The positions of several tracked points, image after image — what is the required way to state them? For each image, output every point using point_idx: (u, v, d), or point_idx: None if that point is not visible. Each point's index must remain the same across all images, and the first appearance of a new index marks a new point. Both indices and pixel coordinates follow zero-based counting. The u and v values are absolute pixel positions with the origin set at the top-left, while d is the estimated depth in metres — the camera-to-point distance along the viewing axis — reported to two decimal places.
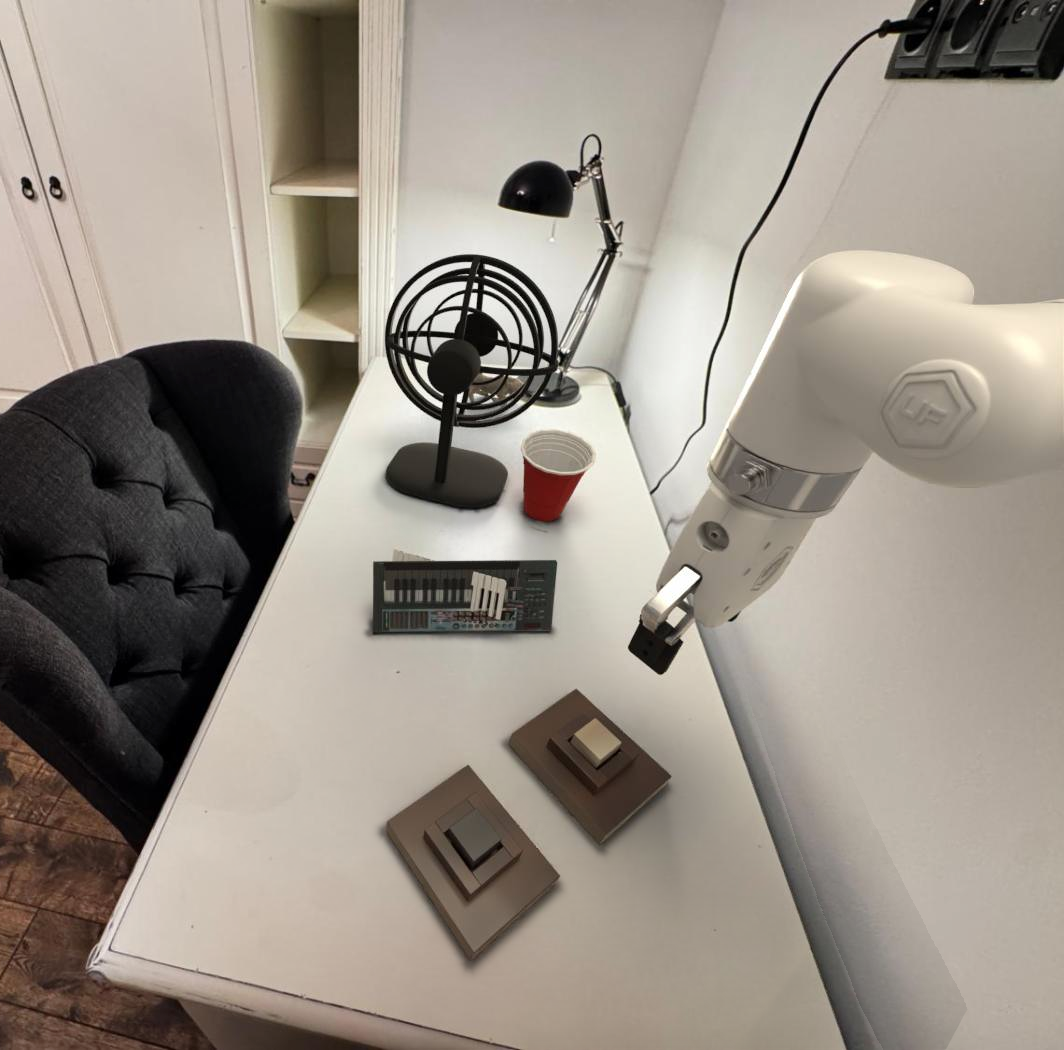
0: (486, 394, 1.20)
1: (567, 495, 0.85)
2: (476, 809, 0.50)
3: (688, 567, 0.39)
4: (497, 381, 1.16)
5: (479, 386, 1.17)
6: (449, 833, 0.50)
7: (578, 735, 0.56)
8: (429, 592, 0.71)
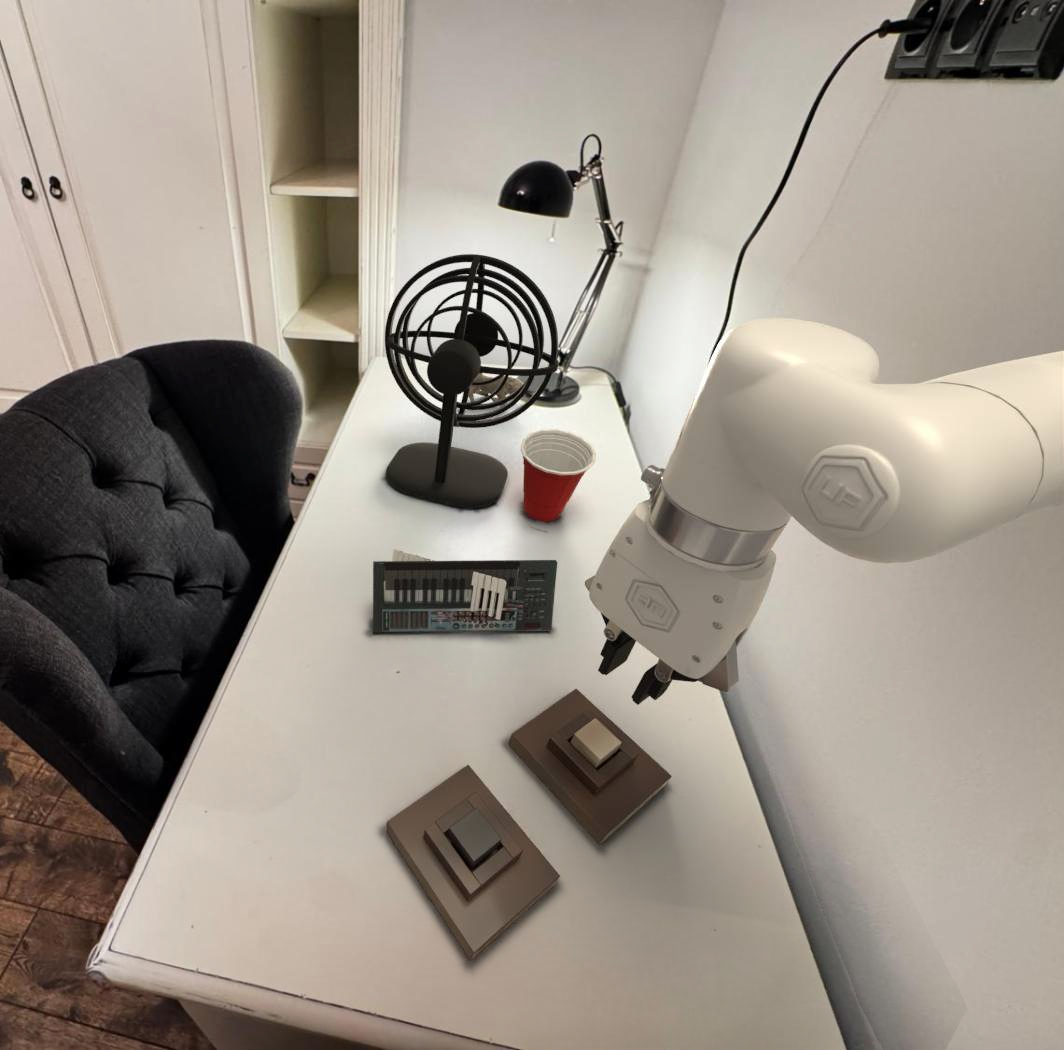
0: (486, 394, 1.20)
1: (567, 495, 0.85)
2: (476, 809, 0.50)
3: None
4: (497, 381, 1.16)
5: (479, 386, 1.17)
6: (449, 833, 0.50)
7: (578, 735, 0.56)
8: (429, 592, 0.71)
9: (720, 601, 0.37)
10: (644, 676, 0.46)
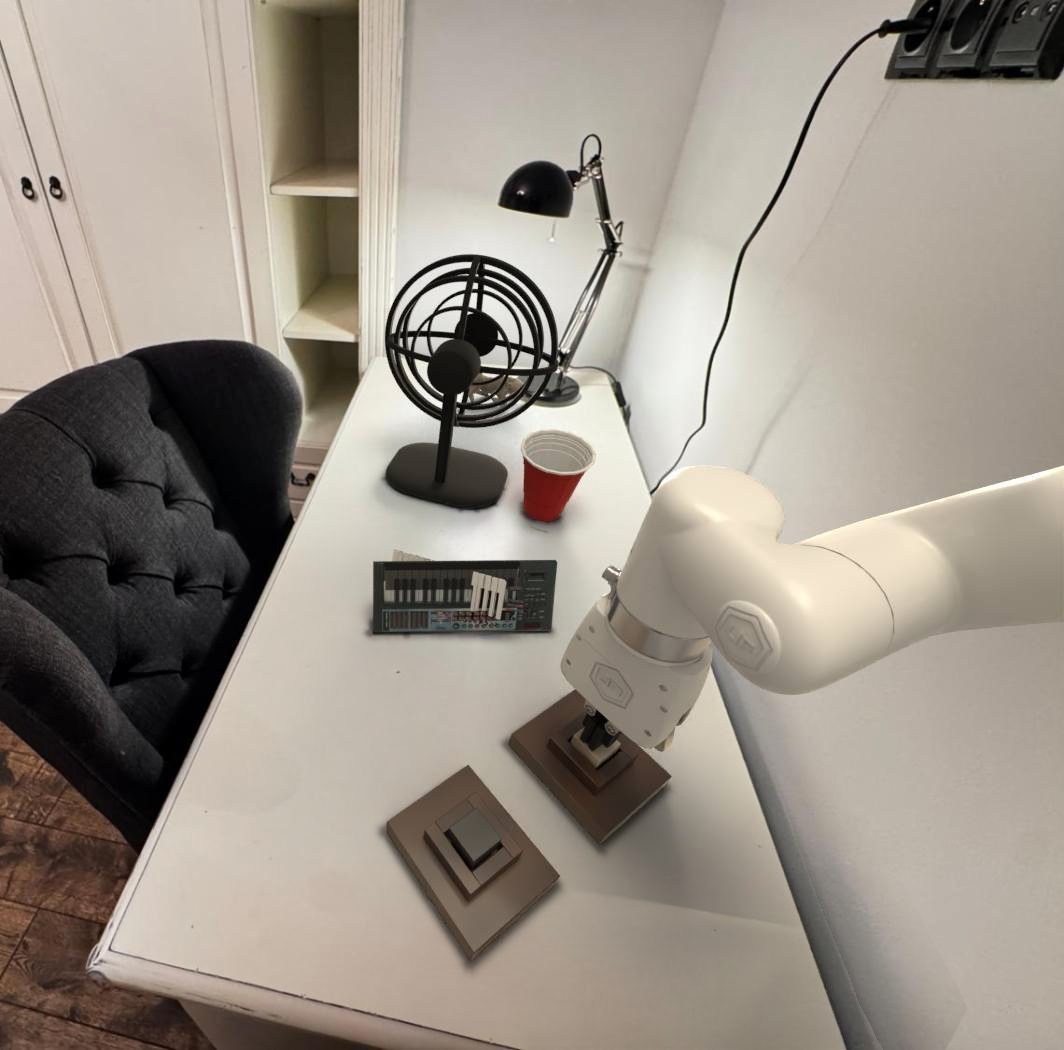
0: (486, 394, 1.20)
1: (567, 495, 0.85)
2: (476, 809, 0.50)
3: None
4: (497, 381, 1.16)
5: (479, 386, 1.17)
6: (449, 833, 0.50)
7: (577, 737, 0.56)
8: (429, 592, 0.71)
9: (665, 689, 0.43)
10: (597, 728, 0.53)
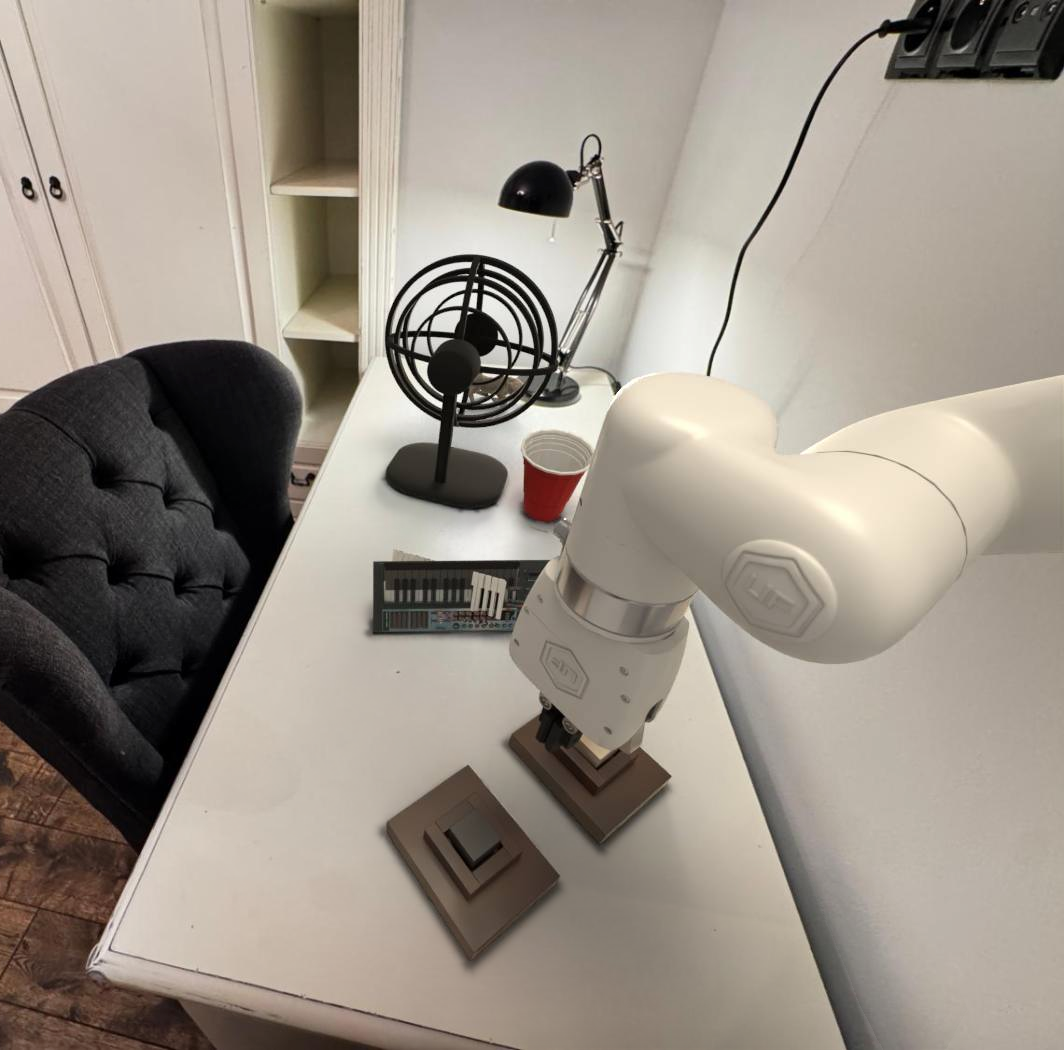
0: (486, 394, 1.20)
1: (567, 495, 0.85)
2: (476, 809, 0.50)
3: None
4: (497, 381, 1.16)
5: (479, 386, 1.17)
6: (449, 833, 0.50)
7: None
8: (429, 592, 0.71)
9: (627, 674, 0.34)
10: (553, 725, 0.43)
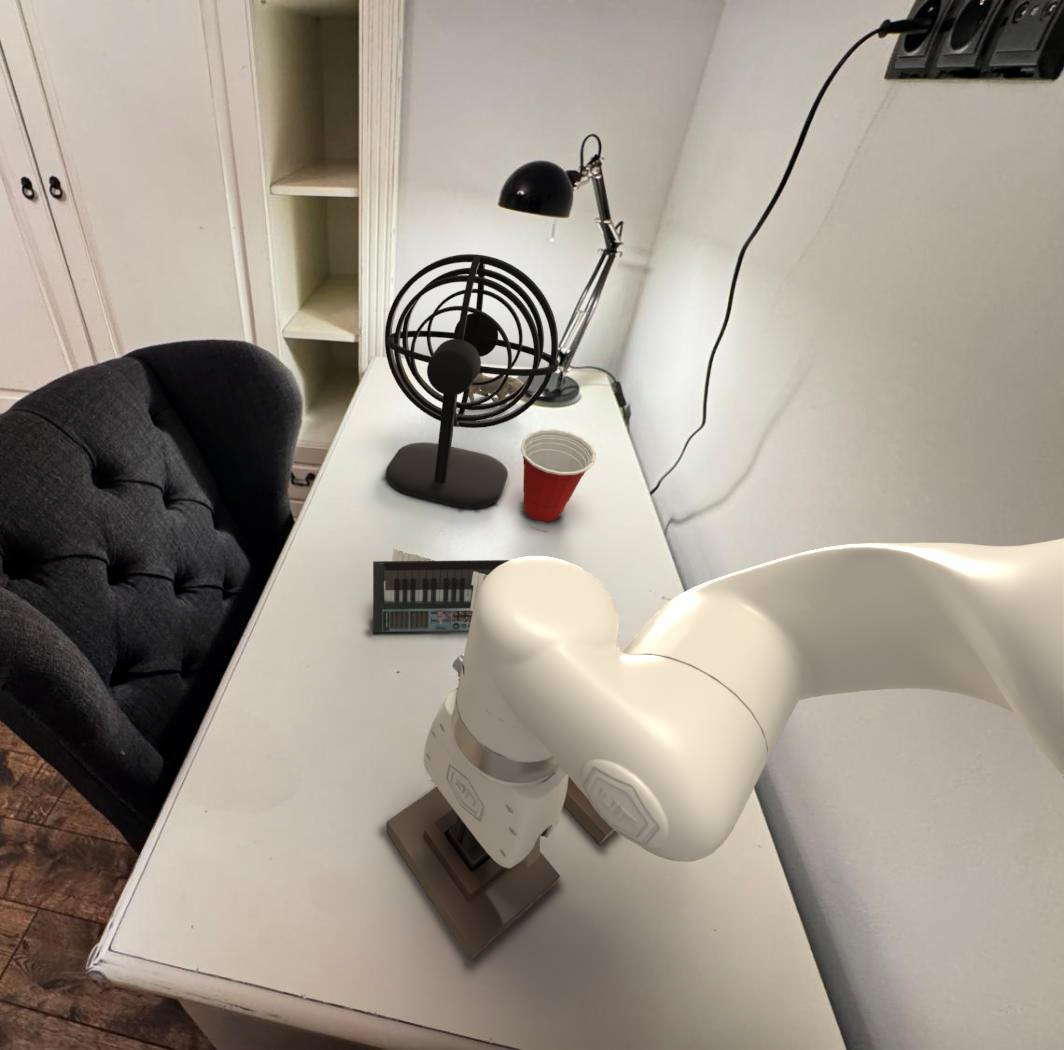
0: (486, 394, 1.20)
1: (567, 495, 0.85)
2: None
3: None
4: (497, 381, 1.16)
5: (479, 386, 1.17)
6: (448, 835, 0.50)
7: None
8: (429, 592, 0.71)
9: (512, 810, 0.36)
10: (466, 829, 0.46)
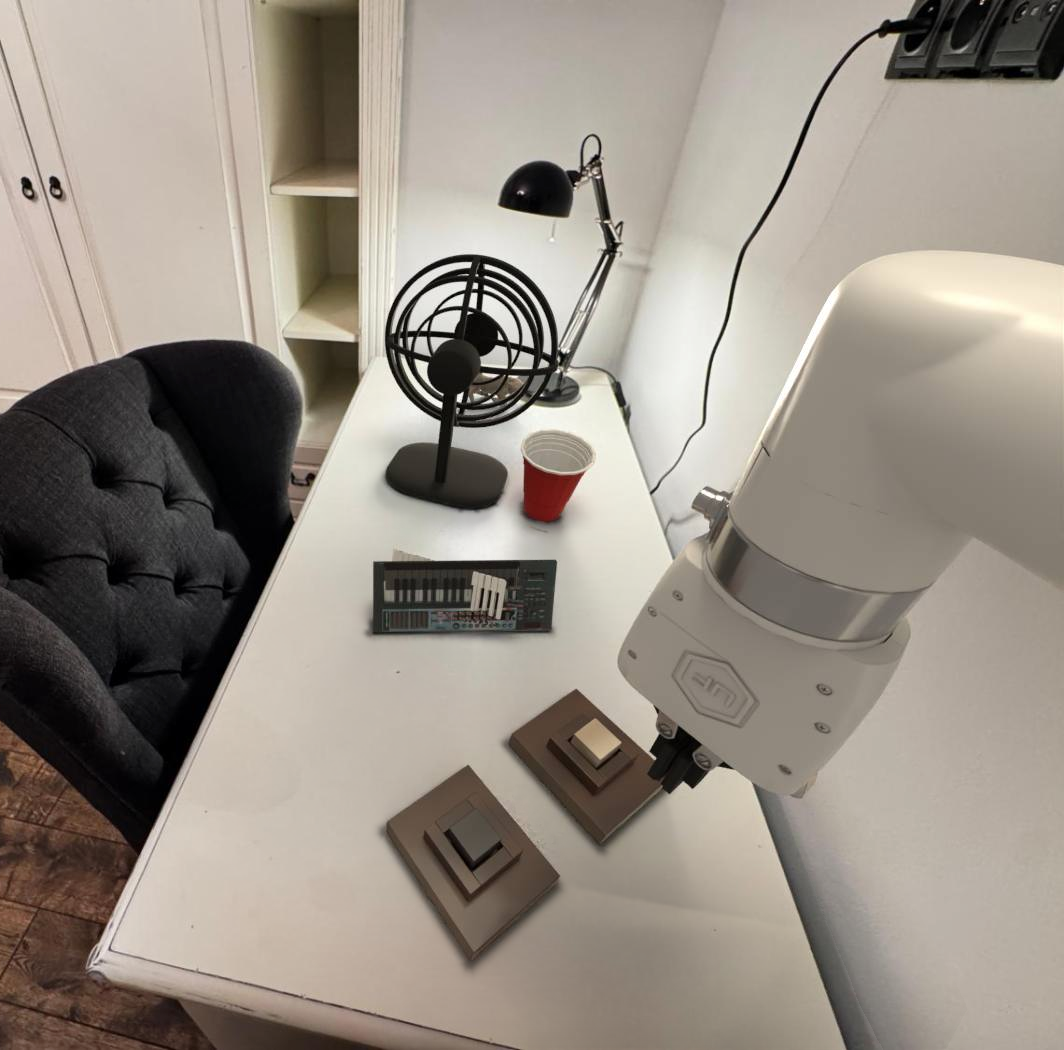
0: (486, 394, 1.20)
1: (567, 495, 0.85)
2: (476, 809, 0.50)
3: None
4: (497, 381, 1.16)
5: (479, 386, 1.17)
6: (449, 833, 0.50)
7: (578, 735, 0.56)
8: (429, 592, 0.71)
9: (827, 693, 0.24)
10: (678, 759, 0.34)
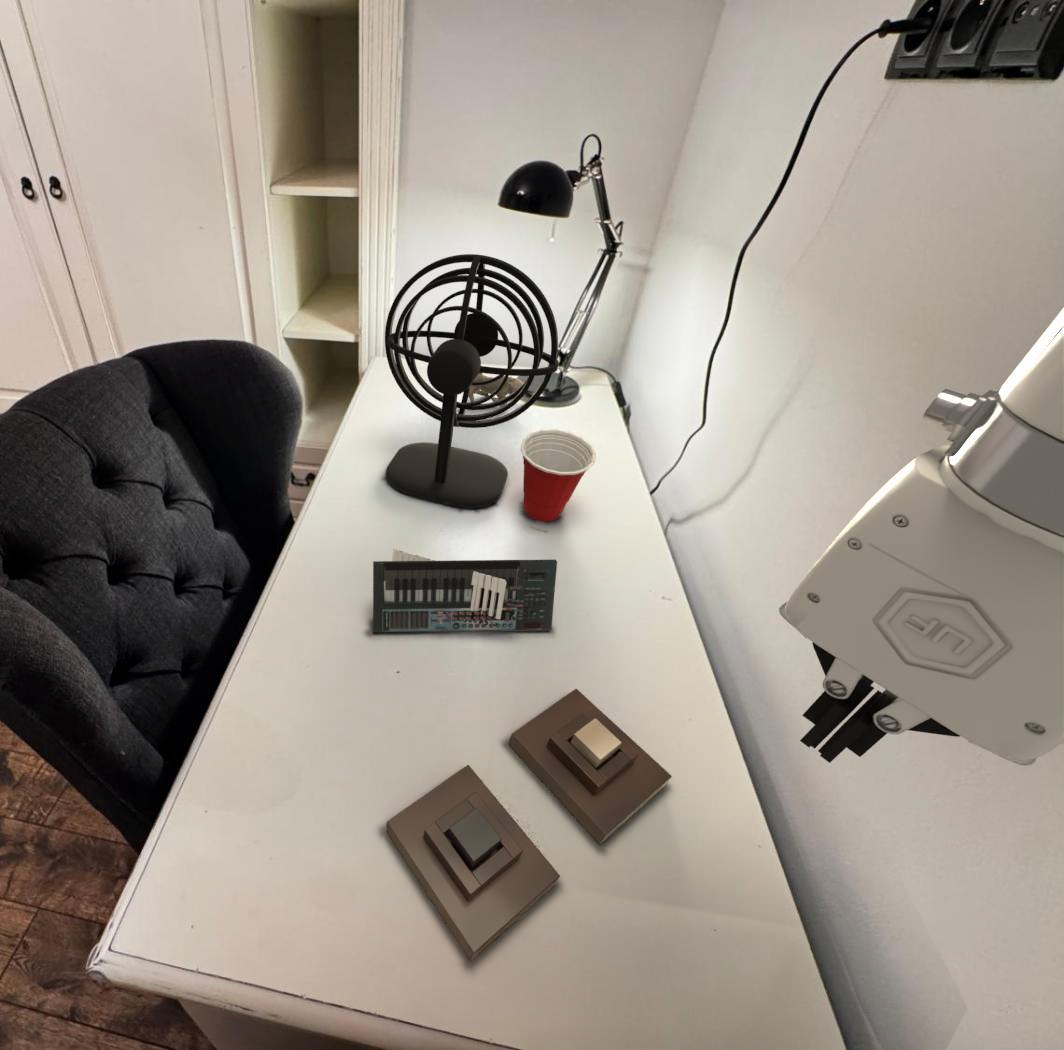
0: (486, 394, 1.20)
1: (567, 495, 0.85)
2: (476, 809, 0.50)
3: None
4: (497, 381, 1.16)
5: (479, 386, 1.17)
6: (449, 833, 0.50)
7: (578, 735, 0.56)
8: (429, 592, 0.71)
9: None
10: (851, 722, 0.29)
